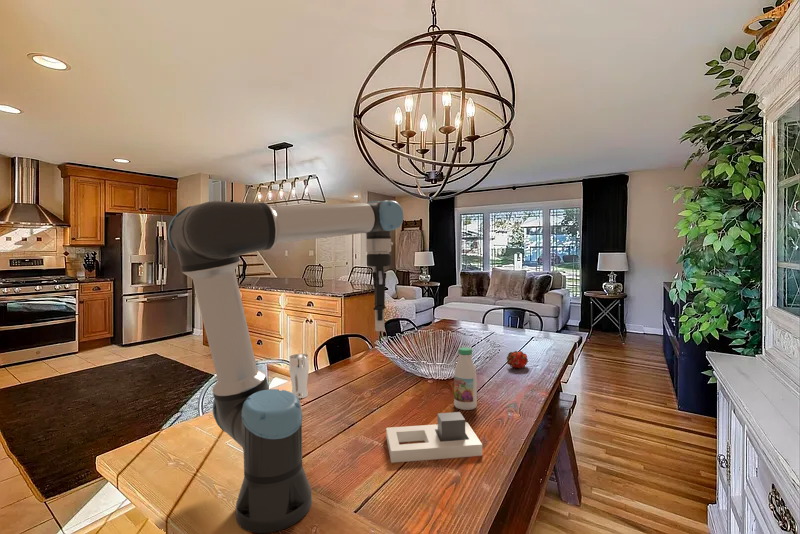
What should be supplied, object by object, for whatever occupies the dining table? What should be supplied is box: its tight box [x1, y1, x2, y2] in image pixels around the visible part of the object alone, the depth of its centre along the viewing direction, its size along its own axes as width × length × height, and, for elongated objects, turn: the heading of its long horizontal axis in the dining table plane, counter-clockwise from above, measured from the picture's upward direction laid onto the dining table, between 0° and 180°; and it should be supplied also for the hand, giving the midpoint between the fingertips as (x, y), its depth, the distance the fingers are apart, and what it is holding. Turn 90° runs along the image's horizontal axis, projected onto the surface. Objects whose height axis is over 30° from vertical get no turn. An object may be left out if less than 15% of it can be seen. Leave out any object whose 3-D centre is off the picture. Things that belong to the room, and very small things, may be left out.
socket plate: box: [385, 421, 483, 463], centre depth 106 cm, size 13×24×3 cm, turn 97°
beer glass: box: [288, 353, 310, 400], centre depth 143 cm, size 7×7×15 cm
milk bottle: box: [453, 346, 478, 411], centre depth 132 cm, size 8×8×20 cm
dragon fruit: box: [506, 350, 529, 370], centre depth 174 cm, size 8×8×12 cm
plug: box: [437, 411, 466, 442], centre depth 106 cm, size 5×6×8 cm
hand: (379, 330), depth 118 cm, fingers closed
